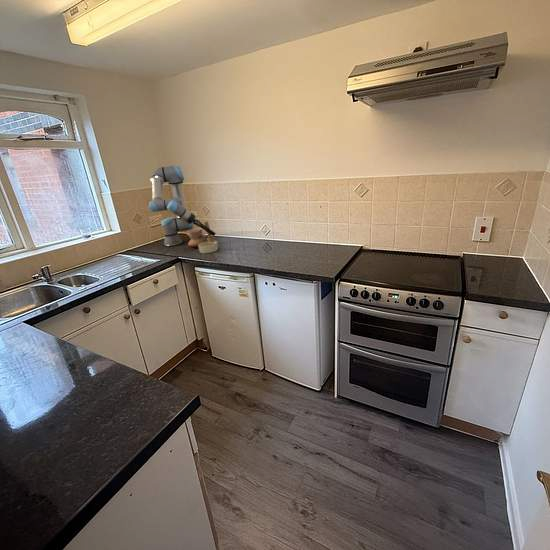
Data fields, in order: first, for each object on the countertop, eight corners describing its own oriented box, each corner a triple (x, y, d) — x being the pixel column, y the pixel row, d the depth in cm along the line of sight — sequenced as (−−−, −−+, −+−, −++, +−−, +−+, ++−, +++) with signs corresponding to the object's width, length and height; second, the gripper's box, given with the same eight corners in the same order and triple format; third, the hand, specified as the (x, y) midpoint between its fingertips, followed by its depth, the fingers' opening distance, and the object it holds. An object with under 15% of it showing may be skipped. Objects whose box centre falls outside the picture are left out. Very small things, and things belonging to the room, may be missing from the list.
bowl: (203, 248, 240) (202, 241, 238) (221, 247, 237) (219, 240, 235) (196, 254, 226) (195, 246, 224) (214, 253, 224) (213, 245, 222)
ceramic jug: (184, 248, 246) (180, 232, 241) (195, 243, 258) (192, 227, 253) (201, 249, 238) (198, 232, 233) (212, 244, 250) (209, 227, 245)
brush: (209, 241, 232) (204, 221, 226) (215, 240, 231) (210, 220, 225) (206, 243, 228) (201, 223, 221) (213, 242, 226) (208, 222, 220)
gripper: (182, 219, 222) (208, 236, 235) (188, 222, 209) (214, 240, 222) (188, 211, 222) (213, 228, 235) (194, 213, 209) (220, 231, 222)
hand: (214, 234), depth 229 cm, fingers closed on brush, 3 cm apart
